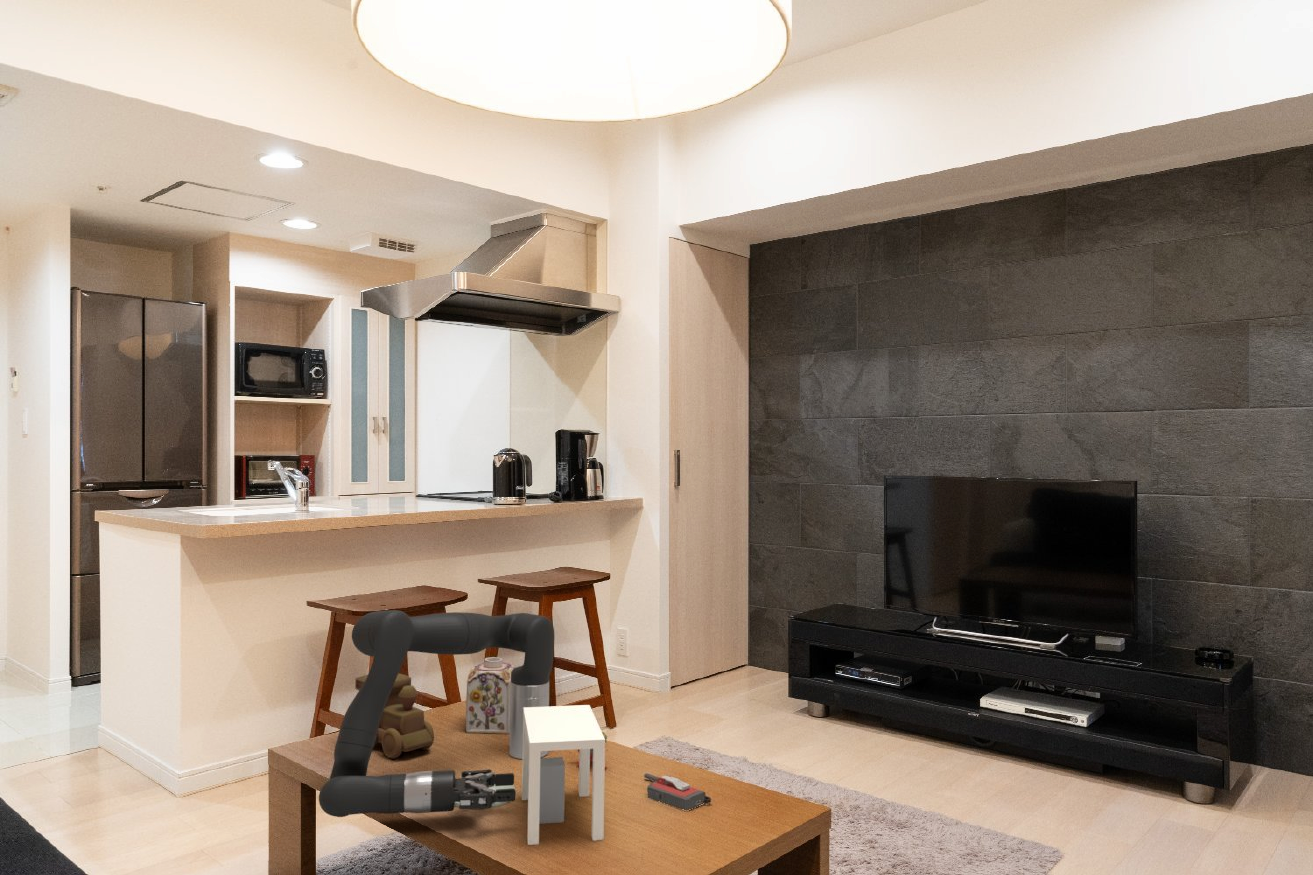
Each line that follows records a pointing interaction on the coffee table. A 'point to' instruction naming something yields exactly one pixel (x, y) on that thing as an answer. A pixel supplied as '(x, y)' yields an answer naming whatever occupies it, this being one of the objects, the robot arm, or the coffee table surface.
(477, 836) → the coffee table surface
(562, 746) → the white step stool
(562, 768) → the block
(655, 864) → the coffee table surface
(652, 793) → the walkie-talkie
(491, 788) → the plate
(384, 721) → the wooden toy train
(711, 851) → the coffee table surface
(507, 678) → the decorative jar
